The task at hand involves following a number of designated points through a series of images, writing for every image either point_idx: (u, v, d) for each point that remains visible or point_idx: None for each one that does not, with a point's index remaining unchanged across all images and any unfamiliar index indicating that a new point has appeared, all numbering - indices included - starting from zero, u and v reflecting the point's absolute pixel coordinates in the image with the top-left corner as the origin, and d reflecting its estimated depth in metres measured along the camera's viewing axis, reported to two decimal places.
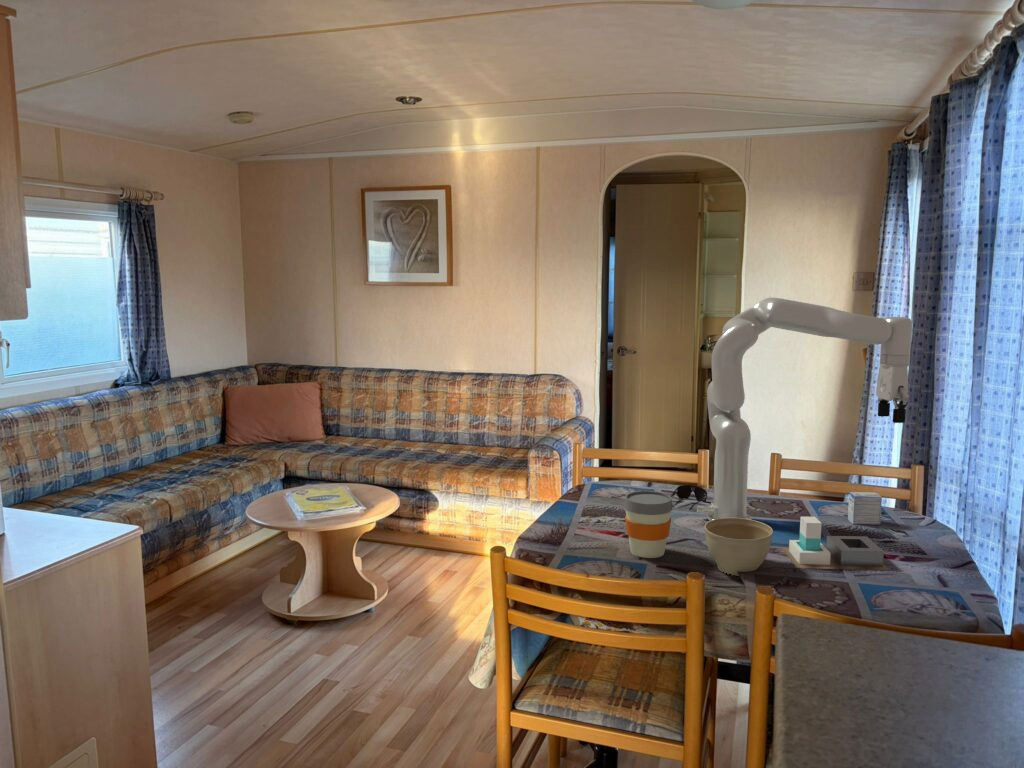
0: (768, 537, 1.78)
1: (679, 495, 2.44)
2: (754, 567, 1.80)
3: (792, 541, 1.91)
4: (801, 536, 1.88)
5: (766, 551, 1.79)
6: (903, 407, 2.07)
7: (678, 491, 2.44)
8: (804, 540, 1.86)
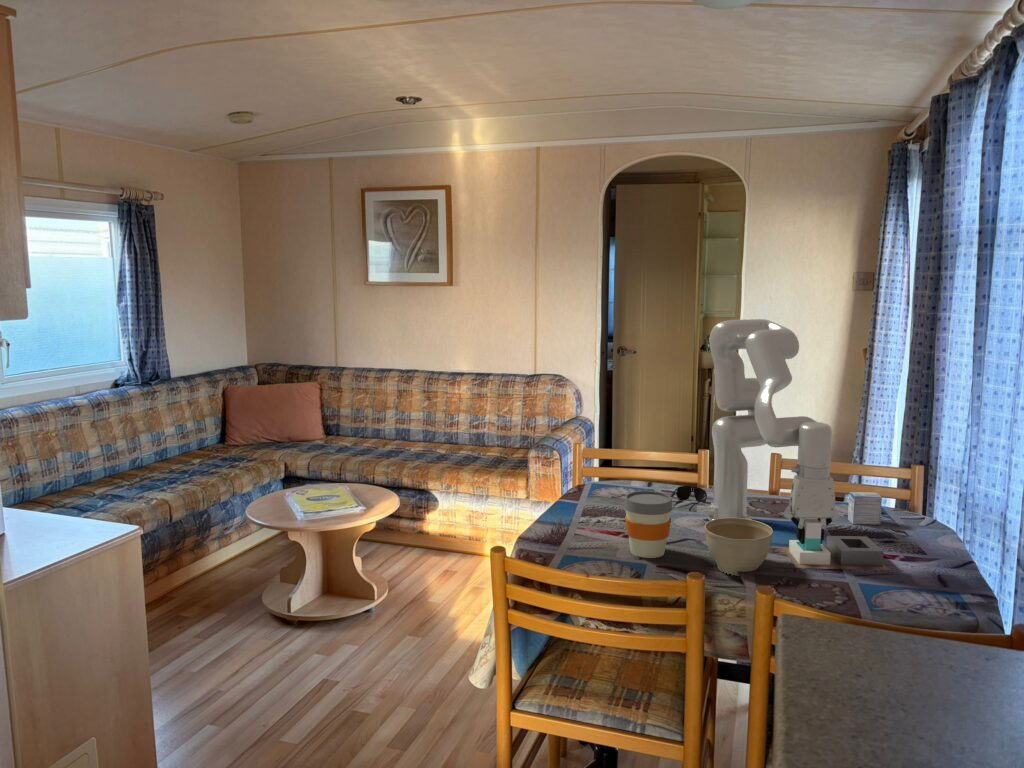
0: (768, 537, 1.78)
1: (679, 496, 2.43)
2: (754, 567, 1.80)
3: (792, 541, 1.91)
4: None
5: (766, 551, 1.79)
6: None
7: (678, 492, 2.43)
8: (804, 540, 1.86)
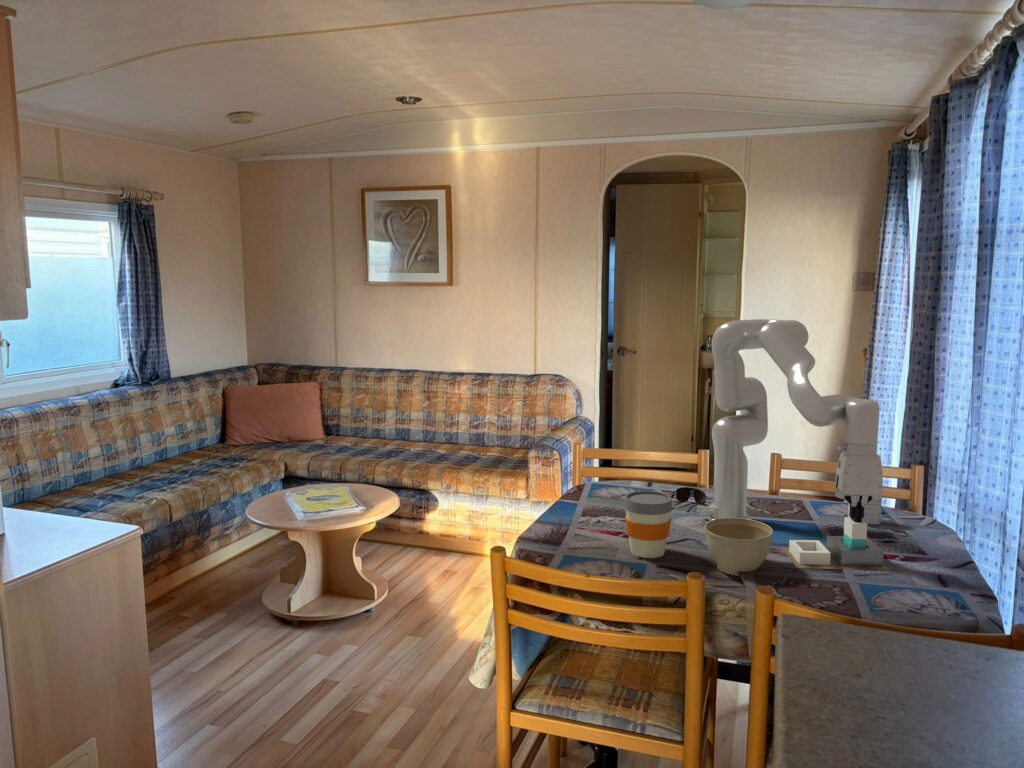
0: (768, 537, 1.78)
1: (678, 497, 2.41)
2: (754, 567, 1.80)
3: (792, 541, 1.91)
4: (846, 537, 1.87)
5: (766, 551, 1.79)
6: None
7: (677, 493, 2.41)
8: (849, 541, 1.85)
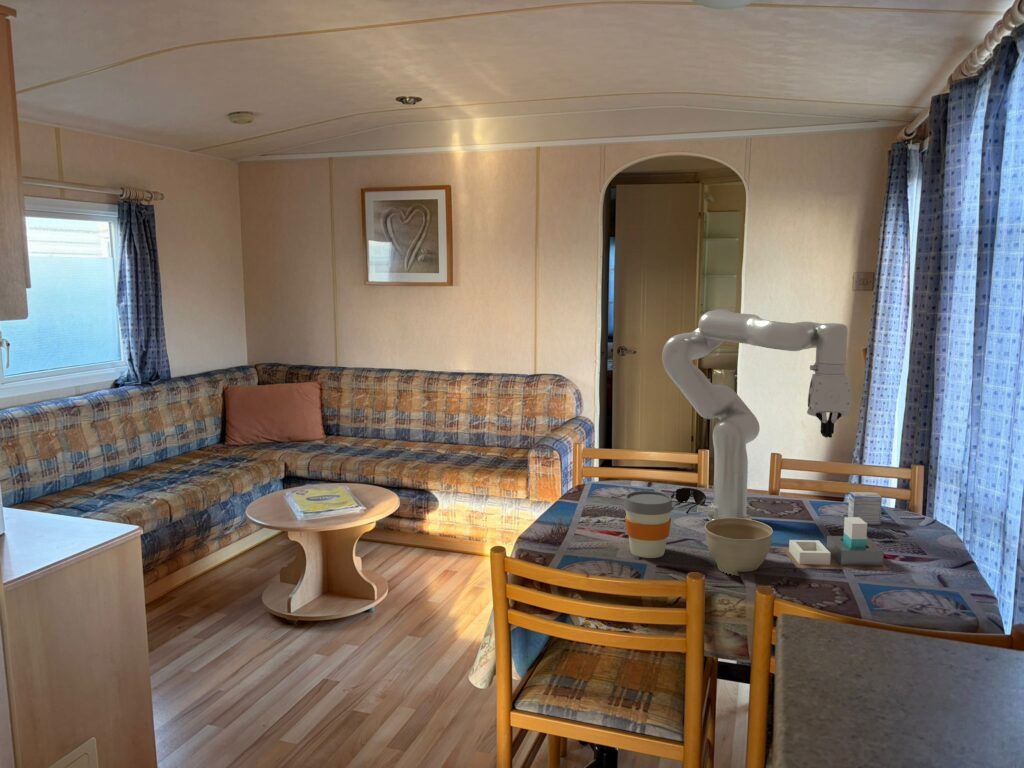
0: (768, 537, 1.78)
1: (678, 498, 2.41)
2: (754, 567, 1.80)
3: (792, 541, 1.91)
4: (846, 537, 1.87)
5: (766, 551, 1.79)
6: None
7: (677, 494, 2.41)
8: (849, 541, 1.85)
